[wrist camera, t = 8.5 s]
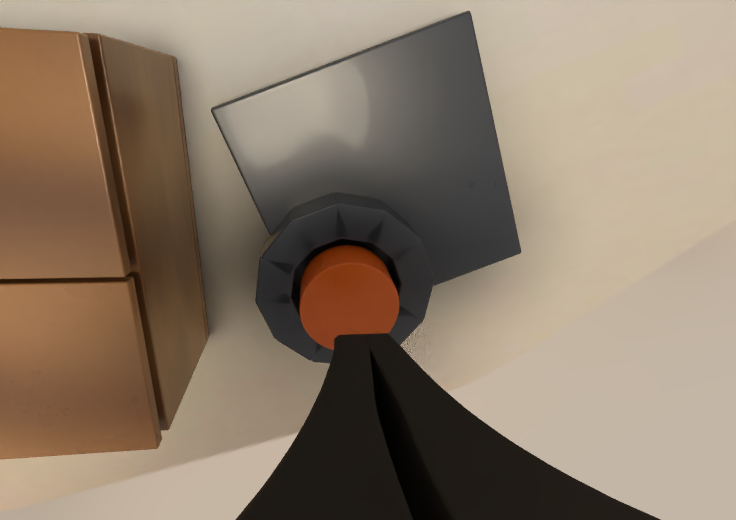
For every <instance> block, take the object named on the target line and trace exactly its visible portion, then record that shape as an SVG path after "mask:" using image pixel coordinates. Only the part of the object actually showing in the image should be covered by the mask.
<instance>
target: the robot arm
mask: <svg viewBox="0 0 736 520" xmlns="http://www.w3.org/2000/svg"><path fill="white" fill-rule="evenodd" d="M236 520H660V519H658V518H656V517H654V516H651V515H649V514H647V513H644V512H642V511H640V510H637V509H635V508H633V507H631V506H629V505H627V504H624V503H622V502H620V501H618V500H616V499H613V498H611V497H609V496H607V495H605V494H603V493H602V492H600V491H598V490H596V489H594V488H592V487H590V486H588V485H586V484H584V483H582V482H580V481H578V480H576V479H574V478H572V477H571V476H569V475H567V474H565V473H563V472H561V471H560V470H558V469H556V468H554V467H552V466H551V465H549V464H547V463H546V462H544V461H542V460H540V459H539V458H537V457H536V456H534V455H532V454H531V453H529V452H527V451H526V450H524V449H523V448H521V447H519V446H518V445H516V444H515V443H513V442H512V441H510V440H508V439H507V438H505V437H504V436H502V435H501V434H500V433H498V432H497V431H495V430H494V429H492V428H491V427H490V426H488V425H487V424H486V423H484V422H483V421H482V420H480V419H479V418H477V417H476V416H475V415H473V414H472V413H471V412H470V411H468V410H467V409H466V408H464V407H463V406H462V405H461V404H460V403H458V402H457V401H456V400H455V399H454V398H453V397H451V396H450V395H449V394H448V393H447V392H446V391H444V390H443V389H442V388H441V387H440V386H439V385H438V384H437V383H436V382H435V381H434V380H433V379H432V378H431V377H430V376H429V375H428V374H427V373H426V372H425V371H424V370H422V368H421V367H420V366H419V365H418V364H417V363H416V362H415V361H414V360H413V359H412V358H411V357H410V356H409V355H408V354H407V353H406V352H405V351H404V350H403V348H402V347H401V346H400V345H399V344H398V343H397V342H396V341H395V340H394V339H393V338H392V337H391V336H390V334H389V333H375V334H346V335H338V336H337V337H336V338H335V339H334V351H333V356H332V360H331V363H330V367H329V369H328V372H327V375H326V378H325V380H324V383H323V386H322V388H321V390H320V393H319V395H318V397H317V399H316V401H315V403H314V405H313V407H312V409H311V412H310V414H309V415H308V417H307V419H306V421H305V423H304V425H303V427H302V428H301V430H300V432H299V433H298V435H297V437H296V438H295V440H294V442H293V443H292V445H291V447H290V448H289V450H288V451H287V453H286V454H285V456H284V457H283V459H282V460H281V462H280V463H279V464H278V466H277V467H276V469H275V470H274V472H273V473H272V475H271V476H270V477H269V479H268V480H267V481H266V483H265V484H264V485H263V487H262V488H261V490H260V491H259V492H258V493H257V495H256V496H255V497H254V498H253V499H252V501H251V502H250V503H249V504H248V505H247V506H246V508H245V509H244V510H243V511H242V513H241V514H240V515H239V516H238V517H237V519H236Z"/></svg>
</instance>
